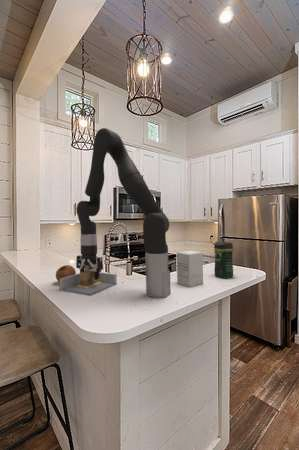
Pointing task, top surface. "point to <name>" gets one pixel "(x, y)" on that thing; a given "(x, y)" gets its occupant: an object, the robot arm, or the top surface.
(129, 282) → the top surface
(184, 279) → the supplement box
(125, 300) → the top surface
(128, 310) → the top surface
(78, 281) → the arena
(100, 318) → the top surface
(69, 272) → the onion
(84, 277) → the walnut brick
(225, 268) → the coffee jar
